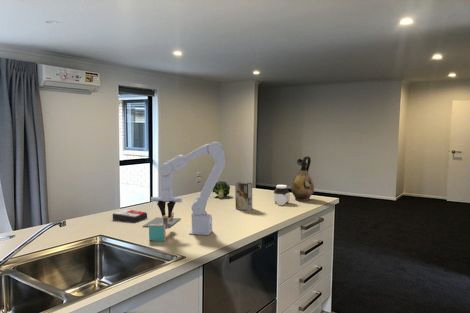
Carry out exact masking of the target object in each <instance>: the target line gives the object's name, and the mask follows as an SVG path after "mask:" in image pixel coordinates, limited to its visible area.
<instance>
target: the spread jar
mask: <svg viewBox="0 0 470 313" xmlns="http://www.w3.org/2000/svg"><path fill="white" fill-rule="evenodd" d="M275 186H276V188H275V189H274V190H273V201H274V203H276V204H278V206H283V205H286V204H288V203H289V202H290V196H291V195H290V190H289V189H288V187H287V186H288V185H286V184H277V185H275Z"/></svg>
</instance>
